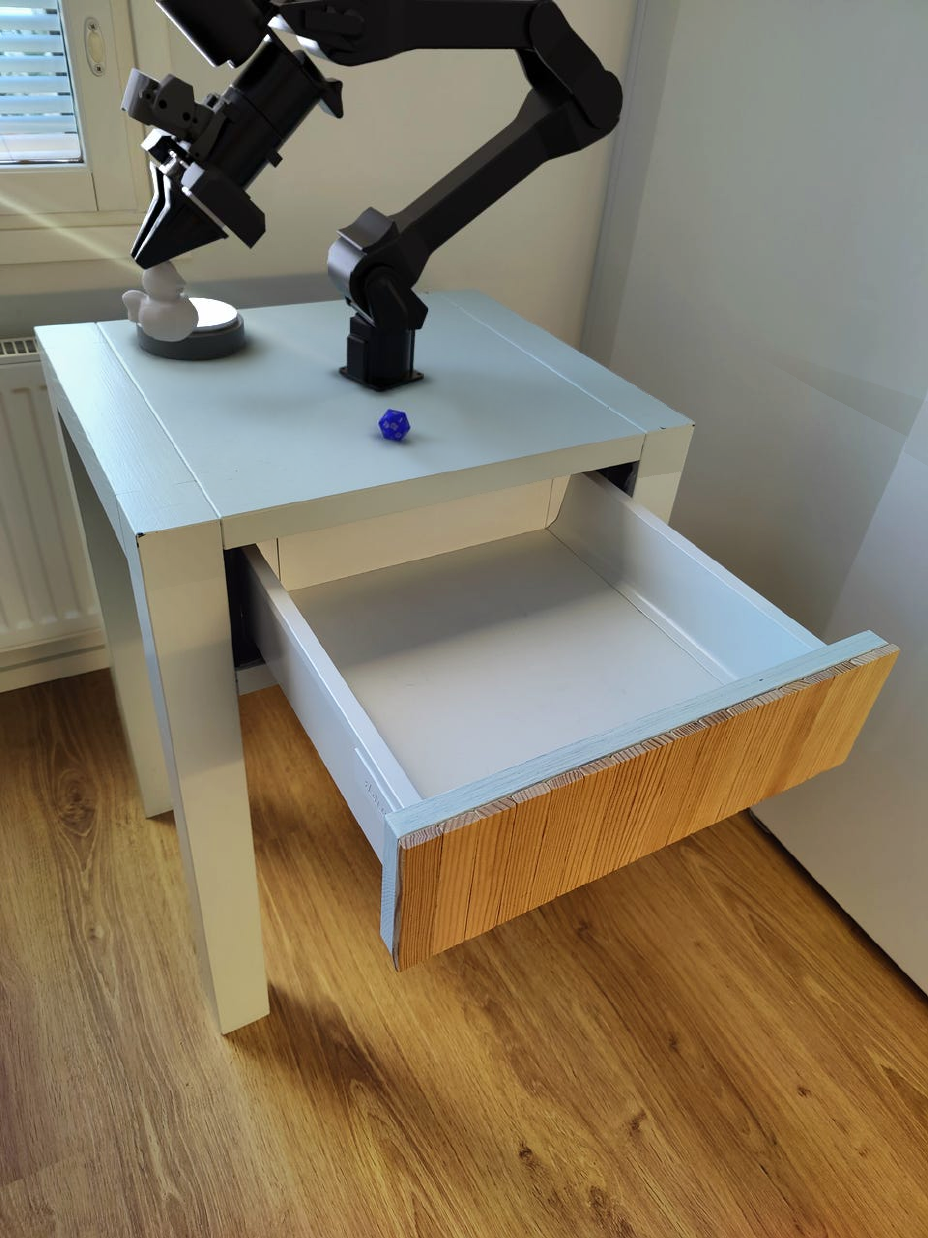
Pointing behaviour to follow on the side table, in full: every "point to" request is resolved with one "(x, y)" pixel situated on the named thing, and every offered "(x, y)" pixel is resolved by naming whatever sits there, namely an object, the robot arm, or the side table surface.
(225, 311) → the scale
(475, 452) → the side table surface
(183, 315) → the rubber duck
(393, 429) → the die
